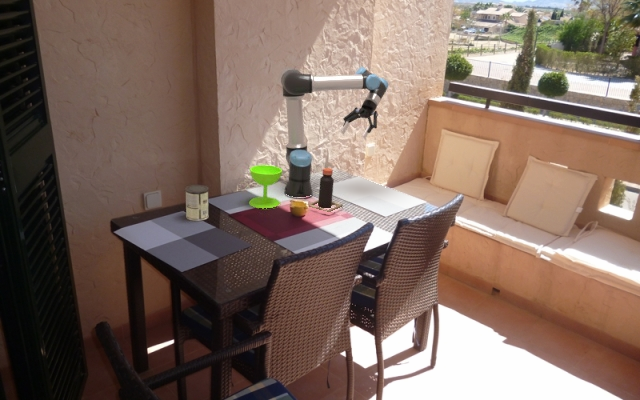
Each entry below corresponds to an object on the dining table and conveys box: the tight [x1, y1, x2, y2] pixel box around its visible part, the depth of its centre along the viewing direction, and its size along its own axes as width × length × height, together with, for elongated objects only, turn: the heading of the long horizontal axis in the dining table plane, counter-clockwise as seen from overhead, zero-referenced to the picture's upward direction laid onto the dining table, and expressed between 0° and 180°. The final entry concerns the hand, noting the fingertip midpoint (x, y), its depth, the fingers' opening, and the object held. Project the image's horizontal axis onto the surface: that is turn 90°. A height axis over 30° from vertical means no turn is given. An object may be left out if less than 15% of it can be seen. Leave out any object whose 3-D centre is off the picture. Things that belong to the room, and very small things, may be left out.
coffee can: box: [185, 184, 210, 222], centre depth 236 cm, size 10×10×14 cm
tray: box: [307, 199, 344, 212], centre depth 260 cm, size 13×13×2 cm
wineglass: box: [248, 164, 283, 210], centre depth 259 cm, size 16×16×18 cm
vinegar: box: [318, 167, 335, 208], centre depth 257 cm, size 7×7×20 cm
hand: (353, 134), depth 271 cm, fingers open, 13 cm apart
